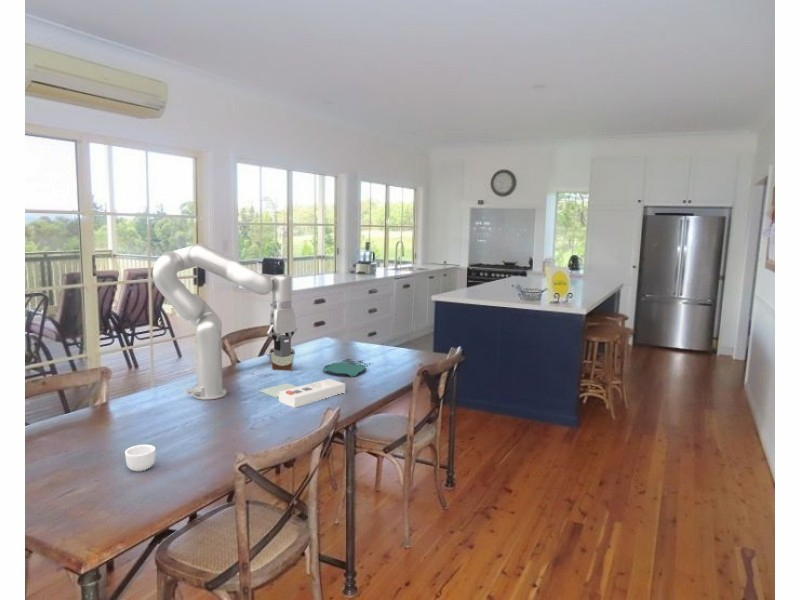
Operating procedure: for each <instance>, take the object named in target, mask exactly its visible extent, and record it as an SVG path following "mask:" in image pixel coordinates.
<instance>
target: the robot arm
mask: <svg viewBox="0 0 800 600" xmlns="http://www.w3.org/2000/svg"><path fill="white" fill-rule="evenodd" d="M195 267H196V268H197V267H198V268H200V269H202V270H204V271H207V272H209V273H211V274H213V275H215V276H218V277H220V278H223V279H225V280H226V281H228V282H230V283H232V284H233V283H234V284H236V285H238V286H239V287H242V288H244V289H245V290H248V291H250V292H252V293H255V294H257V295H261V296H265V295H269V294H270V293H272V302H271V303H270V307H271V310H270V315H269V316H270V317H269V329H268V330H267V331H266V335H267V336H269V337H270V338H271V339H272V340H273V348H274V349H275V350H278V351H279V350H280V341H279V337H280V335H286V336H290V337H291V339H292V338H293V336H294V334H295V333H296V332H297V331H298V328H297V326H296V324H297V323H296V315H295V309H294V307H292V304H293V303H292V277H291V275H290V274H284V273H282V274H270V273H269V274H268V273H259V272H256V271H254V270H252V269H251V268H249V267H246V266H245V265H243V264H242V263H241V262H239V261H238V260H237V259H235V258H233V257H231V256H228V255H227V254H224V253H222V252H219V251H218V250H215V249H213V248H211V247H209V246H208V245H207V244H205V243H200V242H199V243H195V244H193V245H190V246H186V247H182V248H179V249H175V250H171V251H168V252H167V251H166V252H165V253H163V254H161V255H160V256H158V257H157V259H156V260H155V263H154V265H153V267H152V280H153V284H154V285H155V287H156V289H157V290H158V291H159V292H160V294H161V295H162V296H163V297H164V298H165V299H166V301H167V302H168V303H169V304H170V305H171V307H172V308H173V309H174V310H175V311H176V313H177V314H178V315H179V316H180V318H182V319H184V320H186V321H190V322H191V324H192V325H193V326H194V327H195V331H194V333H195V335H194V336H195V337H194V338H195V348H196V349H195V351H196V352H195V355H196V384H194V386H193V387H192V388H188V389H185V391H184V392H185V395H186V396H187V395H191V394H192V396H193V398H195V399H197V400H204V401H205V400H207V401H208V400H216V399H217V400H218V399H221V398H223V397H225V396H226V395H227V389H225V388H223V351H222V350H223V349H222V346H223V345H222V343H223V342H222V336H223V335H222V329H223V326H222V325H223V324H222V320H221V317H219V316H218V314H217V313H216V312H215V311H214V310H213V308H212V307H210V305H209V303H207V302H206V301H205V300H204V299H203V297H201V296H200V295H199V294H197V293H192V292H191V290H189V288H187V286H186V285H185V284H184V283H183V282H182V281H181V280H180V278H179V277H178V273H179V272H182V271H186V270H189V269H193V268H195Z"/></svg>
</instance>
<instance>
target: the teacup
mask: <svg viewBox="0 0 800 600" xmlns="http://www.w3.org/2000/svg"><path fill="white" fill-rule="evenodd" d="M124 455H125V462H126V466H127V467H128V469H129V470H131V471H133V472H144V471H146V469H147V470H149V469H150V468H152V467H153V465H154V463H155V460H156V446H154V445H151V444H138V445H134V446H131V447H128V448H126V449H125V451H124ZM148 468H149V469H148ZM143 470H144V471H143Z"/></svg>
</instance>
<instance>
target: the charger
mask: <svg viewBox="0 0 800 600" xmlns="http://www.w3.org/2000/svg"><path fill="white" fill-rule="evenodd" d="M279 341H280V350H279V351H278V350H275V349H274V355H275V356H279V357H287V356H291V348H292V345H291V342H292V338H291V337H290V336H286V335H285V334H280V337H279Z"/></svg>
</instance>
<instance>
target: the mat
mask: <svg viewBox="0 0 800 600" xmlns="http://www.w3.org/2000/svg"><path fill="white" fill-rule="evenodd" d="M295 387H297V386H296V385H293V384H291V383H289V382H286V383H282V384H278V385H274V386H271V387H267V388H262V389H259V392H260V393H263V394H266V395H268V396H271V397H274V398H275V399H279V391H283V390H287V389H291V388H295Z"/></svg>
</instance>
